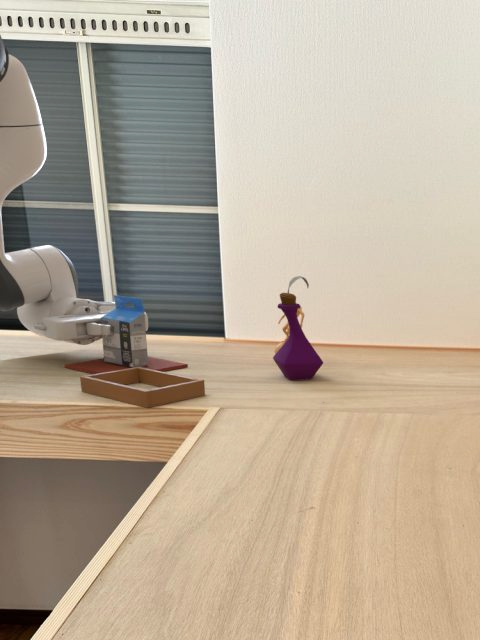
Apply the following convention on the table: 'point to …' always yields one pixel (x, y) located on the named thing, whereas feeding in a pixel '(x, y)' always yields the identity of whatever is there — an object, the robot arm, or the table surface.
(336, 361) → the table surface
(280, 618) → the table surface
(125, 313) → the label tape box
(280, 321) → the figurine
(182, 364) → the rubber mat
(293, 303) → the perfume bottle
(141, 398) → the frame
